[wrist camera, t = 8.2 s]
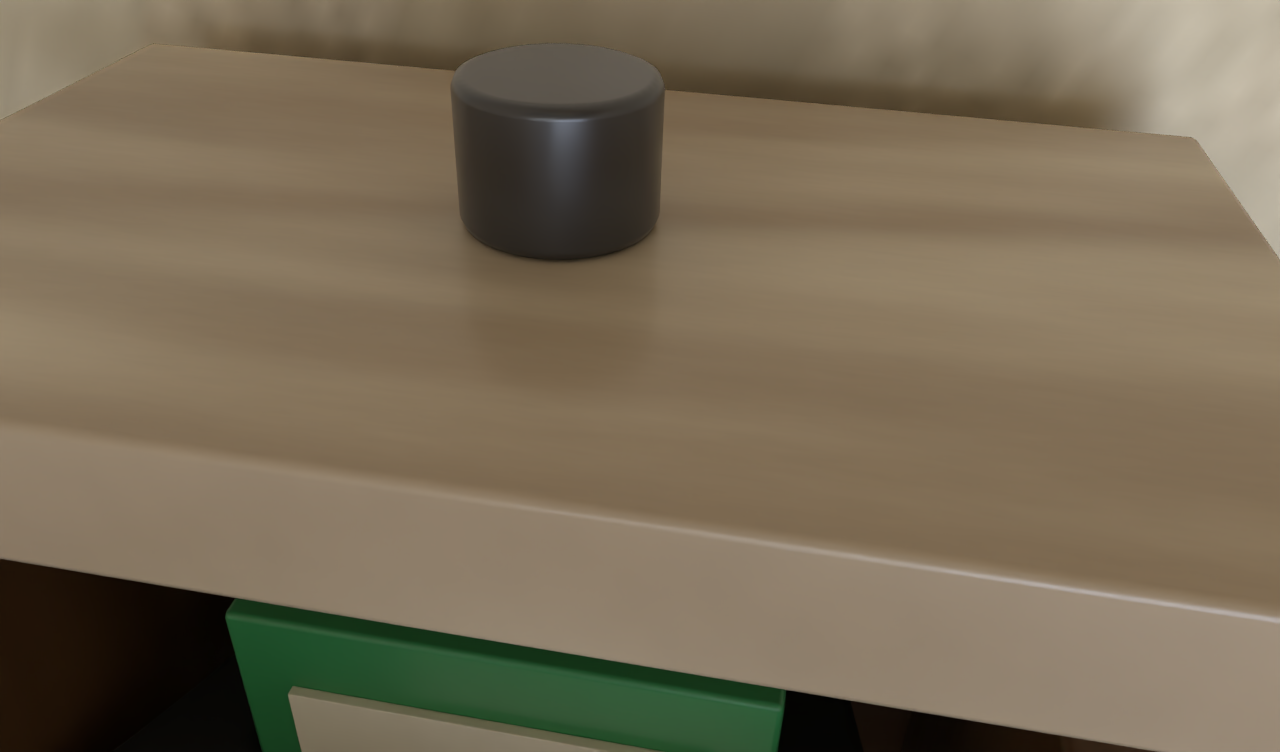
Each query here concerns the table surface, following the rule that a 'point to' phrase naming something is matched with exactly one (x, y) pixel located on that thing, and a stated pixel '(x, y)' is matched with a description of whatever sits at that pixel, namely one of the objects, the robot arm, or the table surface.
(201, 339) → the drawer
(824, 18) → the table surface
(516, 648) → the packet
